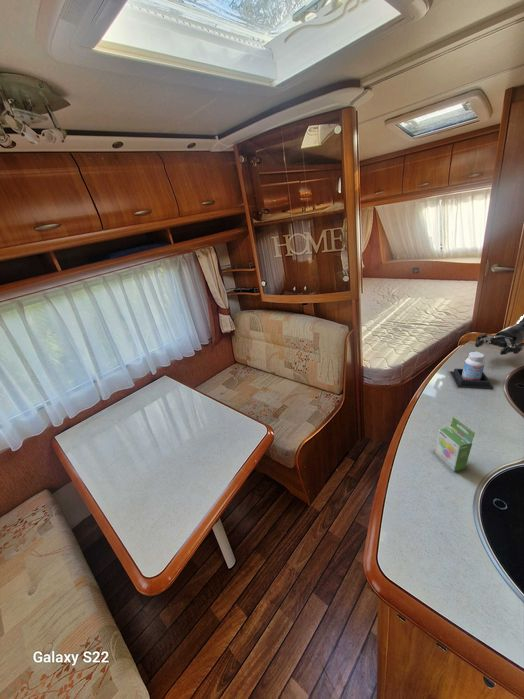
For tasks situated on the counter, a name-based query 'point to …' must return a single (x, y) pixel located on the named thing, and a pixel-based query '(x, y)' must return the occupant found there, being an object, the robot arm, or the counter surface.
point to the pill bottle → (473, 366)
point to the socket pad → (470, 381)
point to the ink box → (454, 445)
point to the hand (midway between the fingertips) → (488, 348)
